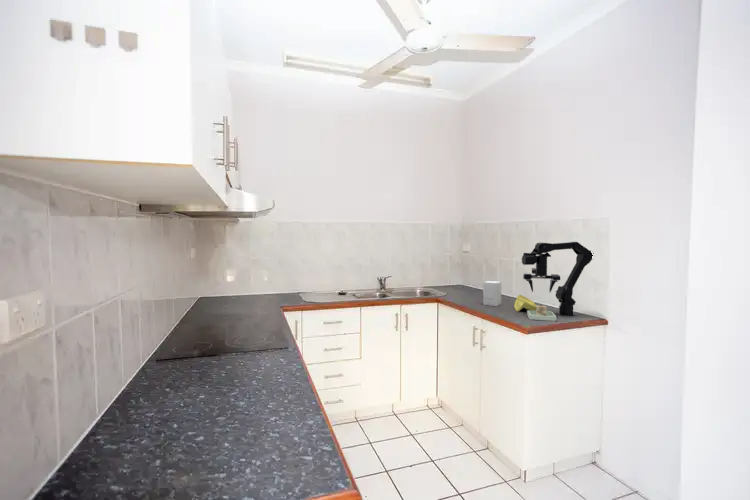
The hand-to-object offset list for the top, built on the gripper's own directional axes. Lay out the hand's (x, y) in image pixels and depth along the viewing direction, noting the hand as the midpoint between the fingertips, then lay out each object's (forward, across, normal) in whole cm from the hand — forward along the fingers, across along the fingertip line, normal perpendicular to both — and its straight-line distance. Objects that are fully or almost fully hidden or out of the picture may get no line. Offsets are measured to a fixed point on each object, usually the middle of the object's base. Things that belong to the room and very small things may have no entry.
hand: (541, 292), depth 210 cm
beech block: (+13, +1, +8) cm, 15 cm away
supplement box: (+13, +26, -24) cm, 38 cm away
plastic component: (+14, +7, -14) cm, 21 cm away
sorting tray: (+13, +1, +8) cm, 16 cm away
